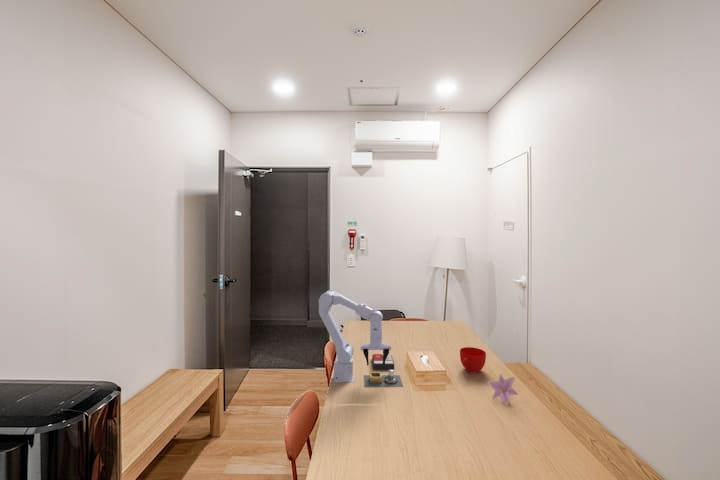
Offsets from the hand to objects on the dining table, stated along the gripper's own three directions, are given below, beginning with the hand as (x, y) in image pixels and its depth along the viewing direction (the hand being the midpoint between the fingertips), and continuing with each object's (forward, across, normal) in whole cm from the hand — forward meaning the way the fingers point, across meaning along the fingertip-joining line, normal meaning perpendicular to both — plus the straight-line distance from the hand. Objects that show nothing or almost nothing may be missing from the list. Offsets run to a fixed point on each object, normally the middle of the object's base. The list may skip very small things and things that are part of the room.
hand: (375, 364), depth 154 cm
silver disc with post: (+8, +8, 0) cm, 11 cm away
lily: (+9, +54, -16) cm, 57 cm away
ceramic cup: (+9, +50, +11) cm, 52 cm away
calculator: (+9, +6, +20) cm, 23 cm away
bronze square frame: (+8, 0, 0) cm, 8 cm away
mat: (+8, +4, 0) cm, 9 cm away
